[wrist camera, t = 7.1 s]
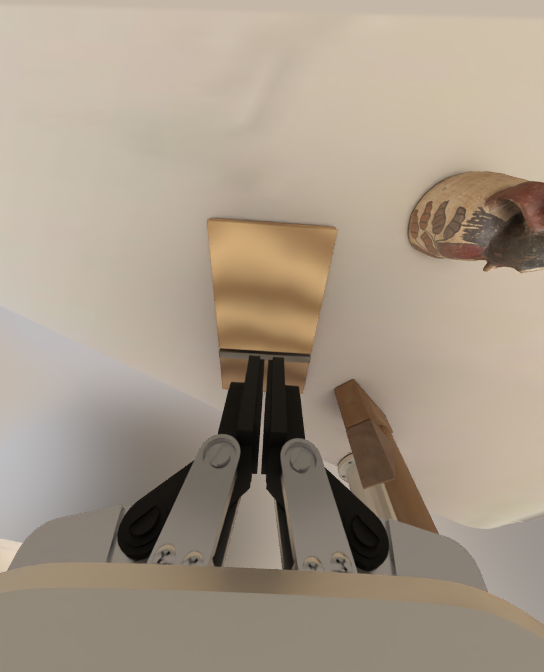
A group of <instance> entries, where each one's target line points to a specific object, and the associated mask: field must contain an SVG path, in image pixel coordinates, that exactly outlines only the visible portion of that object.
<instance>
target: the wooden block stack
mask: <svg viewBox="0 0 544 672" xmlns="http://www.w3.org/2000/svg"><path fill="white" fill-rule="evenodd" d="M334 391H335V394H336V398H337V401H338V404H339V408H340V411H341V415H342V418H343V422H344V425H345V428H346V432H347V436H348V439H349V443H350V446H351V450H352V453H353V456H354V460H355V463H356V467H357V470H358V473H359V477H360V480H361V484H362V487H363V489H366V488H369V487H373V486H376V485H379V484H382V483H384V485H385V488H386V491H387V493H388V496H389V499H390V502H391V504H392V507H393V510H394V512H395V515H396V518H397V521H399V522H402V523H405V524H408V525H411V526H414V527H418V528H421V529H424V530H427V531H430V532H433V533H436V534H439V533H438V531H437V529H436V527H435V525H434V523H433V521H432V518H431V516H430V514H429V512H428V510H427V508H426V506H425V504H424V502H423V499H422V497H421V495H420V493H419V491H418V489H417V487H416V485H415V483H414V481H413V478H412V476H411V474H410V472H409V470H408V468H407V466H406V464H405V462H404V460H403V457H402V455H401V453H400V451H399V449H398V447H397V445H396V443H395V441H394V438H393V436H392V434H391V433H393V432H392V429H391V427H390V425H389V423H388V421H387V419H386V417H385V415H384V414H383V412H382V411H381V410H380V409H379V408H378V407H377V405H376V404H375V403H374V402H373V401H372V400H371V399H370V397H369V396H368V395H367V394H366V393H365V392H364V390H363V389H362V388H361V387H360V386H359V385H358V384H357V382H356V381H355V380H351V381H349V382H347V383H345V384H343V385H341V386H339V387H337V388H335V390H334Z"/></svg>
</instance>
